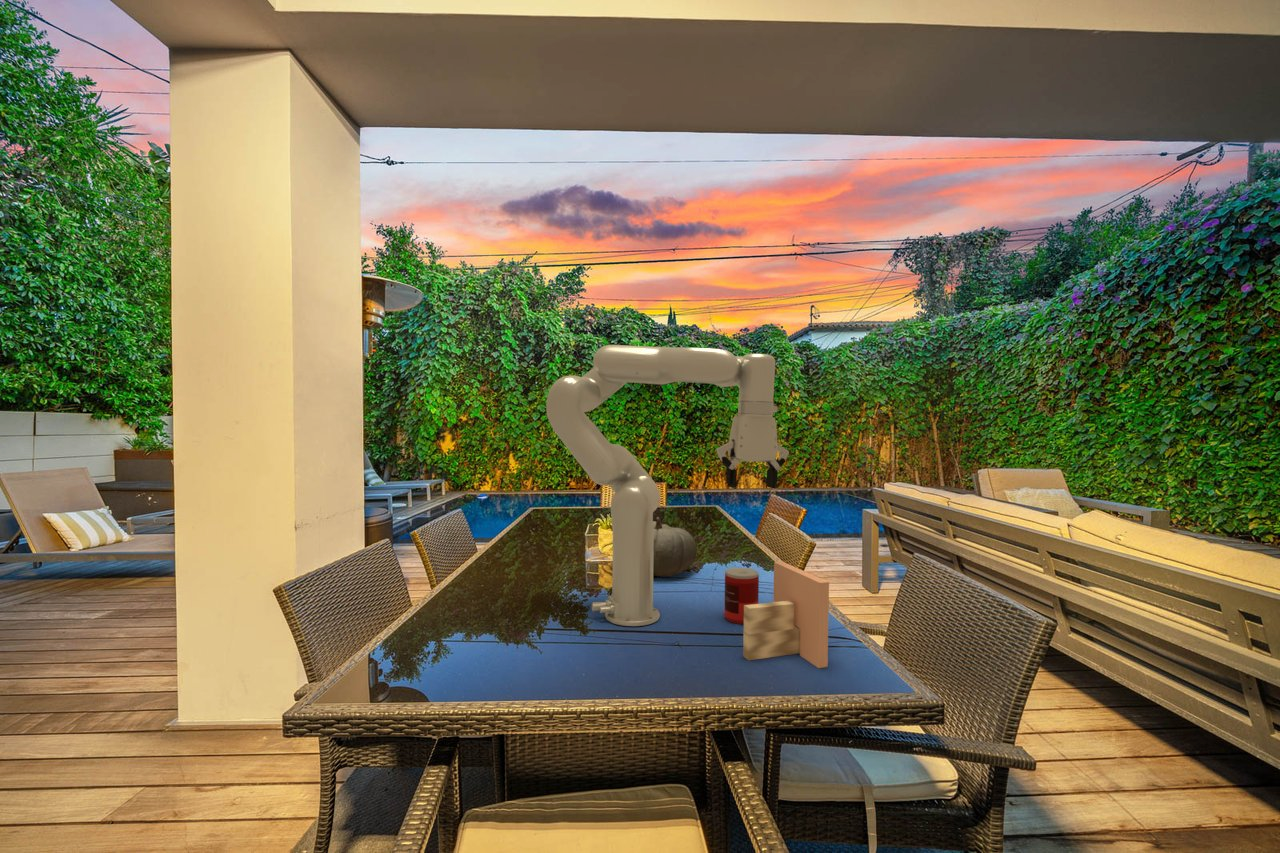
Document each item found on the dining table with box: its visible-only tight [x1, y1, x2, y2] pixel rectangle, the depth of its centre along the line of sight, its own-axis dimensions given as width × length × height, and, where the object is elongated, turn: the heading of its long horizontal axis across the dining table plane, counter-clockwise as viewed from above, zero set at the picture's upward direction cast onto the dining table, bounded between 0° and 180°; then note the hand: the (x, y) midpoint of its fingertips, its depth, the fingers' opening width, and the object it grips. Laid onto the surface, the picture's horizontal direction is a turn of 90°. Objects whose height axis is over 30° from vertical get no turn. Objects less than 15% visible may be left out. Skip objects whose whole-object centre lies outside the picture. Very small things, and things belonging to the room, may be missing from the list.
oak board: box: [742, 601, 800, 661], centre depth 113 cm, size 18×2×10 cm, turn 109°
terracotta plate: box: [772, 561, 830, 669], centre depth 114 cm, size 2×16×16 cm, turn 18°
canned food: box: [724, 566, 760, 625], centre depth 133 cm, size 8×8×11 cm
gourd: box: [653, 516, 698, 578], centre depth 173 cm, size 25×25×17 cm
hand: (751, 487), depth 127 cm, fingers open, 9 cm apart
